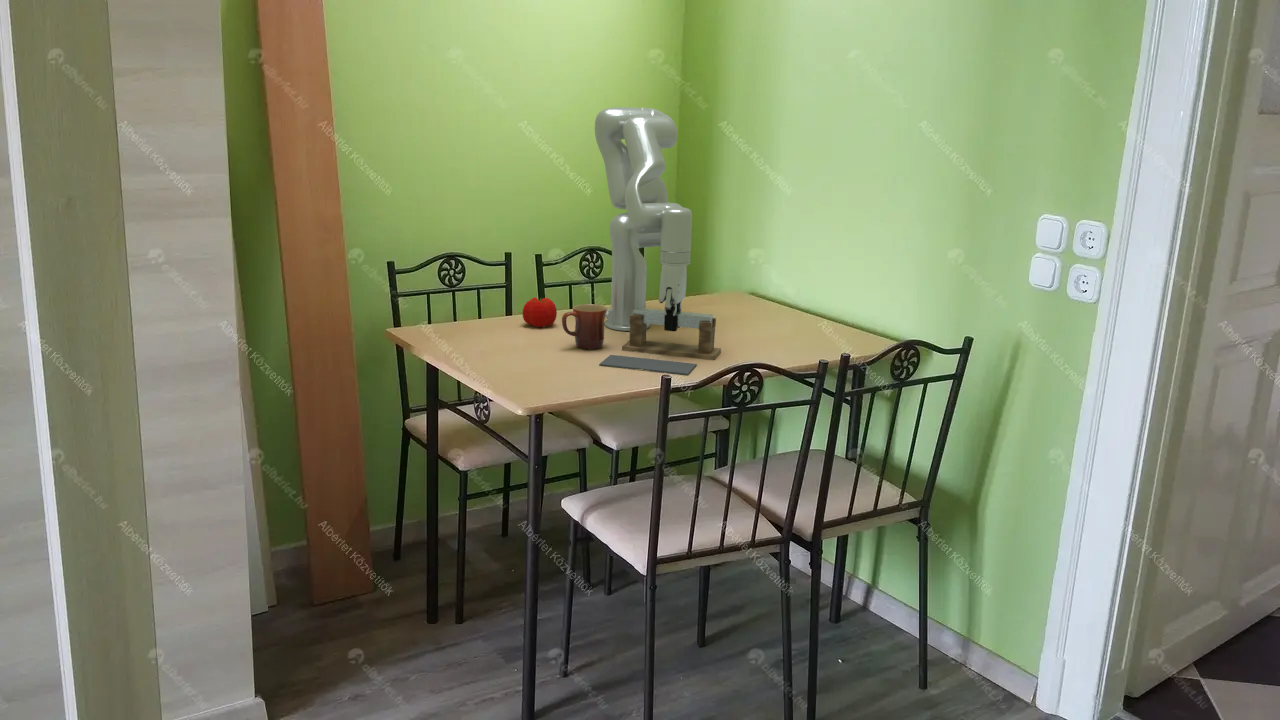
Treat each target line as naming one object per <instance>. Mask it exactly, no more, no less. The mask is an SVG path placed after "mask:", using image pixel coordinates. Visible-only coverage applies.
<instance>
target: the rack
mask: <svg viewBox="0 0 1280 720" xmlns="http://www.w3.org/2000/svg"><path fill="white" fill-rule="evenodd" d="M716 322H717V318H716V317H713V327H712V322H701V321H700V322H699V329H698V330H699V331H698V344H697V345H692V344H691V345H690V344H682V343H673V342H663V341H654V340H653V341H652V340H647V330H648V329H647V324H646V323H642V316H639V315H630V331H629V340H628V341H627V342H626V343H624V344H623V345H621V351H625V350H628V351H627V352H634V351H639V352H638V353H644V352H647V353H646V354H656V355H662V356H663V355H665V356H671V357H672V356H673V357H675V356H676V357H683V358H692V359H701V360H713V361H715V360H716V358H718V356H719V355H720V354H721V352H722V351H721V350H722V348H721V347H715V339H716V338H715V337H716V336H715V335H716V324H717V323H716Z"/></svg>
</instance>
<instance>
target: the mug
mask: <svg viewBox="0 0 1280 720" xmlns="http://www.w3.org/2000/svg"><path fill="white" fill-rule="evenodd" d="M572 310H573V311H568V312H567V311H566V312H565V313H564V314H563V315H562V317H561V325H562V329H563V331H564V332H565V333H566V334H567V335H569V336H572V337H574V342H575V345H576V346H577V348H579V349H581V350H589V351H591V350H593V351H594V350H598V349H600V348H602V347H603V346H604V342H605V341H604V340H605V318H606V317H605V315H606V312H607V310H608V307H607V306H606V305H601V304H592V303H586V304H585V303H583V304H577V305H574V306H573V307H572ZM570 316H572V317H574V319H575V326H574V330H573V331H572V330H569V328H568V325H567V318H568V317H570Z"/></svg>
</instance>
